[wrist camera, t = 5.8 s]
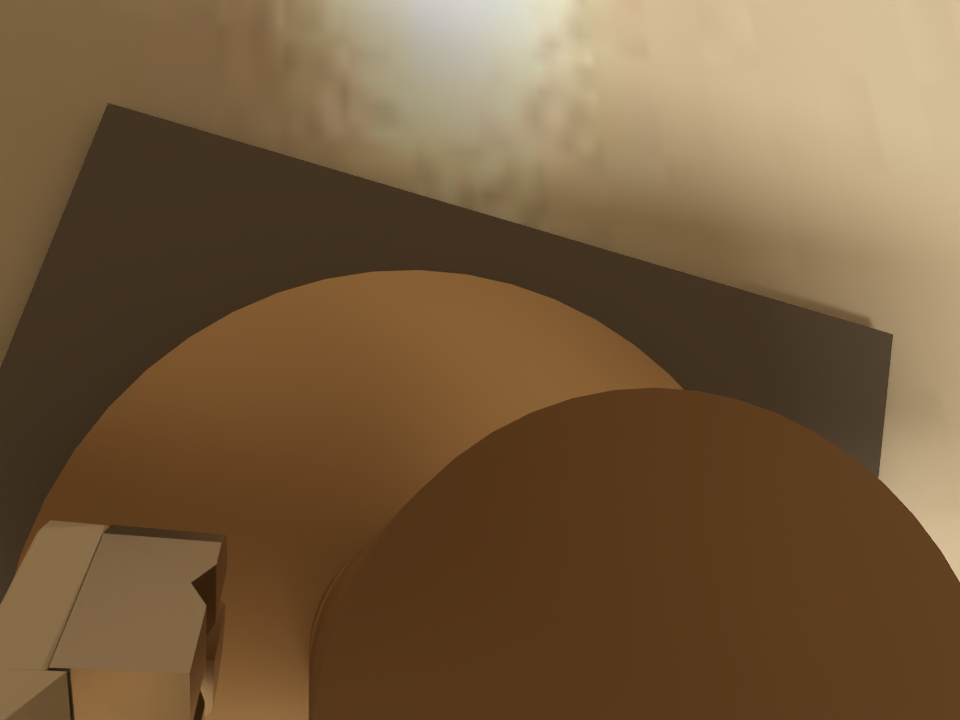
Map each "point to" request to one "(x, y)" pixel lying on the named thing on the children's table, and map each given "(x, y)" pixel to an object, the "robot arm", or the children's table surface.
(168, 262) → the mat
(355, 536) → the lid
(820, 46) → the children's table surface
